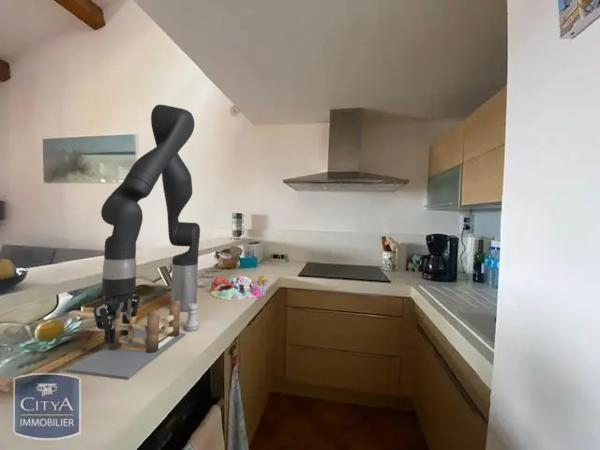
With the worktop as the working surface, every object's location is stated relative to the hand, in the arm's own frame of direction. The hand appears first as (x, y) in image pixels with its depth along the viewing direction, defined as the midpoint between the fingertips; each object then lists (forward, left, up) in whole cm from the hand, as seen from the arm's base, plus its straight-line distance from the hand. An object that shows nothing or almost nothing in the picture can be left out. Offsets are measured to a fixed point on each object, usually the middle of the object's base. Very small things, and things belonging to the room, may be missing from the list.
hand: (117, 338), depth 76 cm
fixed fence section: (-5, +10, -2) cm, 11 cm away
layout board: (0, +5, -3) cm, 6 cm away
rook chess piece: (-17, +12, -3) cm, 21 cm away
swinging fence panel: (0, +3, -2) cm, 4 cm away
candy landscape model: (-61, +13, -3) cm, 63 cm away
